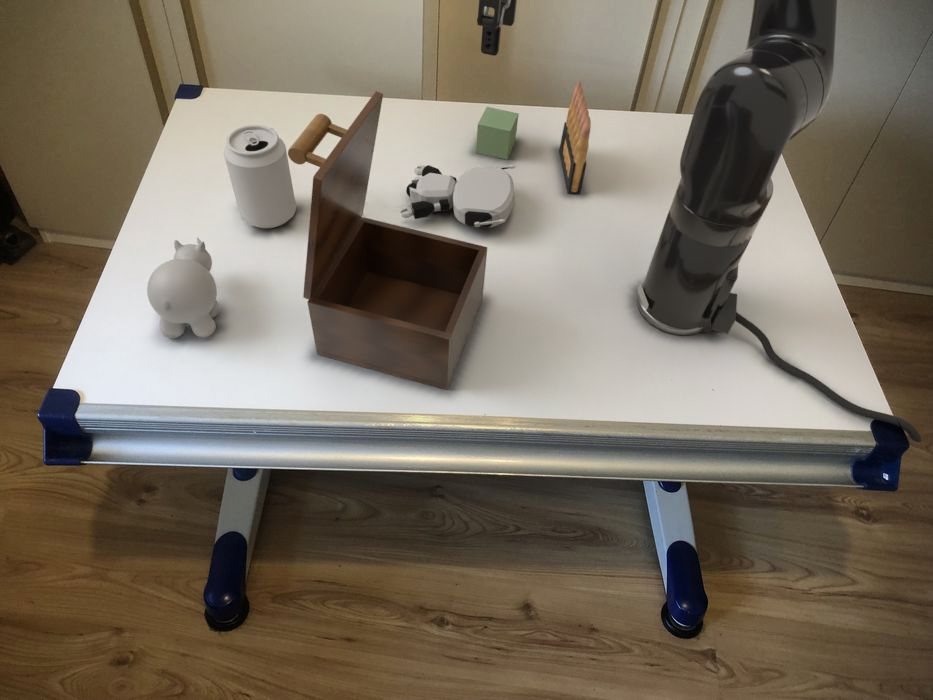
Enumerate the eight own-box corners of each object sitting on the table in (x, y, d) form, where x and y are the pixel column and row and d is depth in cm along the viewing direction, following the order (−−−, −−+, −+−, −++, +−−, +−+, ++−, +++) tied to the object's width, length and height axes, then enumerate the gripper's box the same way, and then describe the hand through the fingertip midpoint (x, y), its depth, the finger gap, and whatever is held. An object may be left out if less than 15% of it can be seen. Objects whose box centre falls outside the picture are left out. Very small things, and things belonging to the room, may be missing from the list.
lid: (383, 93, 67) (335, 74, 67) (321, 180, 58) (266, 157, 58) (363, 214, 80) (322, 198, 80) (310, 300, 71) (264, 282, 71)
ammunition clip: (580, 194, 100) (596, 120, 90) (567, 194, 99) (582, 120, 90) (570, 150, 106) (585, 77, 97) (558, 150, 106) (572, 77, 97)
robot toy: (398, 234, 93) (508, 244, 91) (395, 208, 90) (509, 217, 88) (416, 179, 101) (518, 187, 99) (414, 153, 97) (519, 161, 96)
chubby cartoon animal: (240, 272, 86) (225, 219, 80) (217, 345, 79) (198, 294, 72) (182, 269, 86) (162, 216, 79) (153, 342, 78) (128, 290, 72)
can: (255, 239, 90) (236, 162, 81) (231, 208, 94) (210, 131, 84) (306, 219, 93) (294, 143, 84) (281, 190, 97) (266, 113, 87)
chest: (482, 299, 85) (487, 246, 78) (446, 390, 76) (449, 339, 69) (364, 270, 87) (360, 216, 81) (316, 354, 78) (307, 302, 72)
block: (515, 141, 107) (518, 113, 103) (507, 160, 104) (510, 131, 100) (484, 135, 108) (486, 106, 104) (475, 153, 105) (477, 124, 101)
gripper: (529, -74, 73) (512, 70, 86) (555, -117, 82) (537, 19, 94) (461, -86, 74) (455, 58, 87) (494, -127, 83) (484, 9, 95)
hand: (497, 38), depth 90 cm, fingers open, 8 cm apart
